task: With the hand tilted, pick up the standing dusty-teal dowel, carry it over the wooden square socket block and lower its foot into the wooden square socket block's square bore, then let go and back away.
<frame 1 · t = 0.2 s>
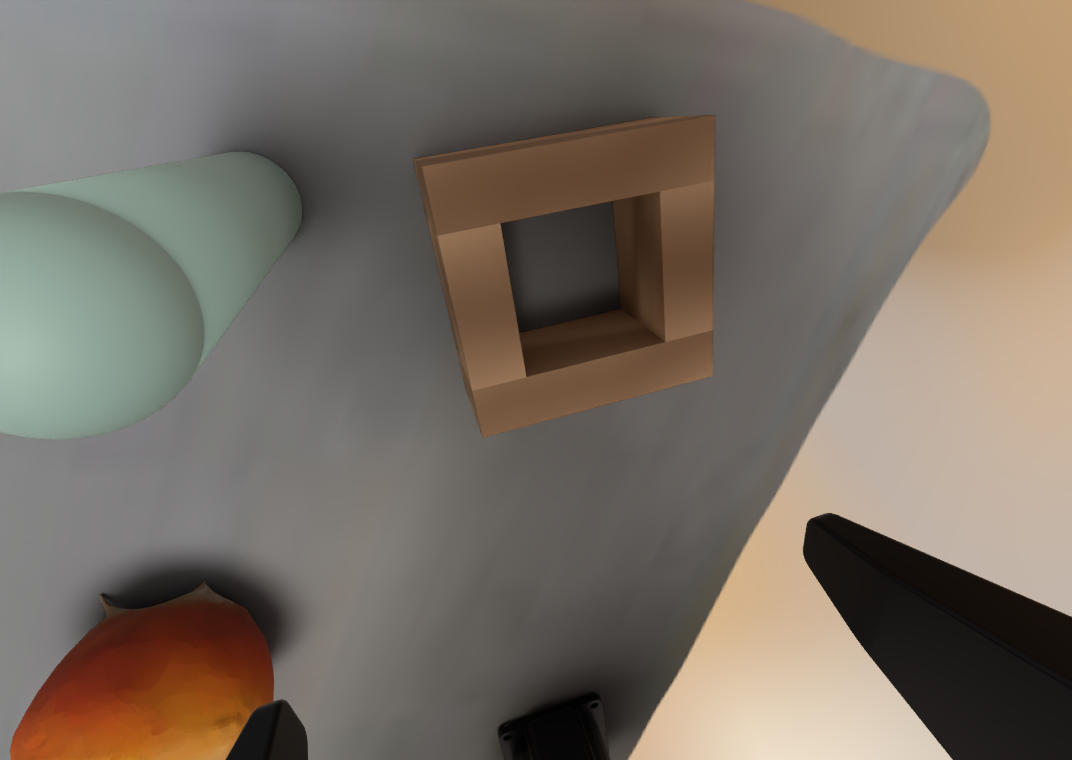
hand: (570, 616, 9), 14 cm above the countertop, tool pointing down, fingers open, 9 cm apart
dowel: (249, 204, 18), on the countertop
wooden square socket block: (554, 261, 21), on the countertop
fruit: (186, 632, 24), on the countertop
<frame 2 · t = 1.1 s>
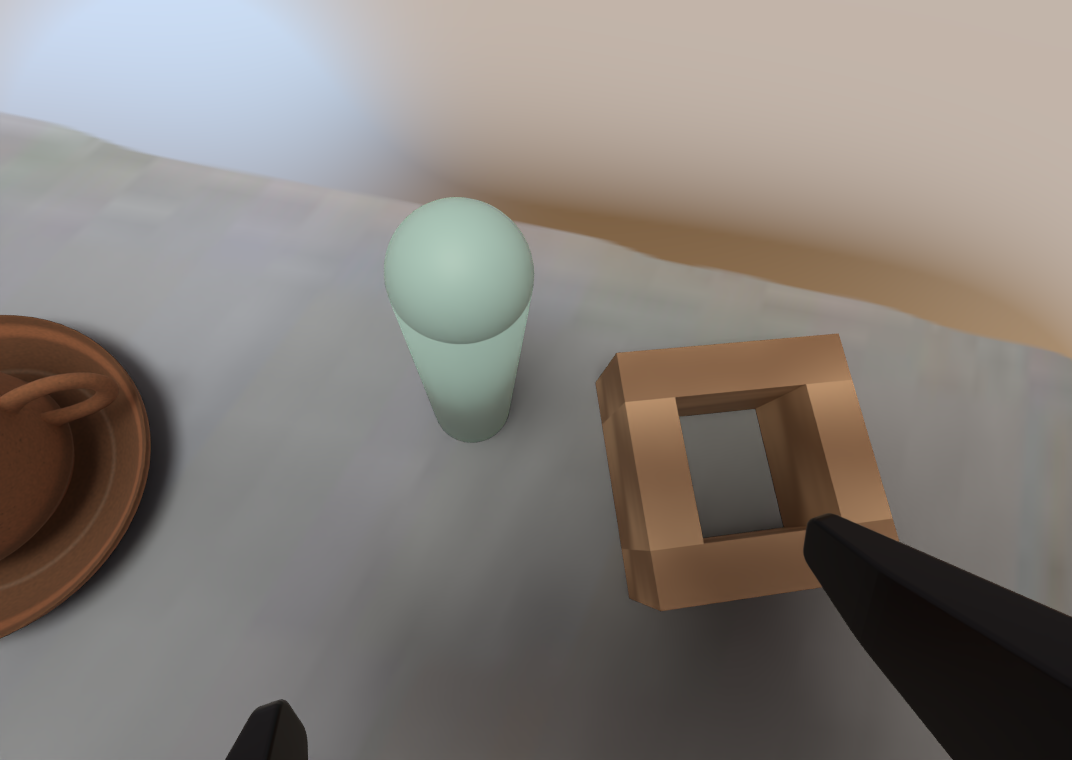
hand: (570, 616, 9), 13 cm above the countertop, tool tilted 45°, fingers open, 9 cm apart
dowel: (472, 405, 23), on the countertop
cup and saucer: (12, 478, 21), on the countertop
wooden square socket block: (712, 472, 23), on the countertop
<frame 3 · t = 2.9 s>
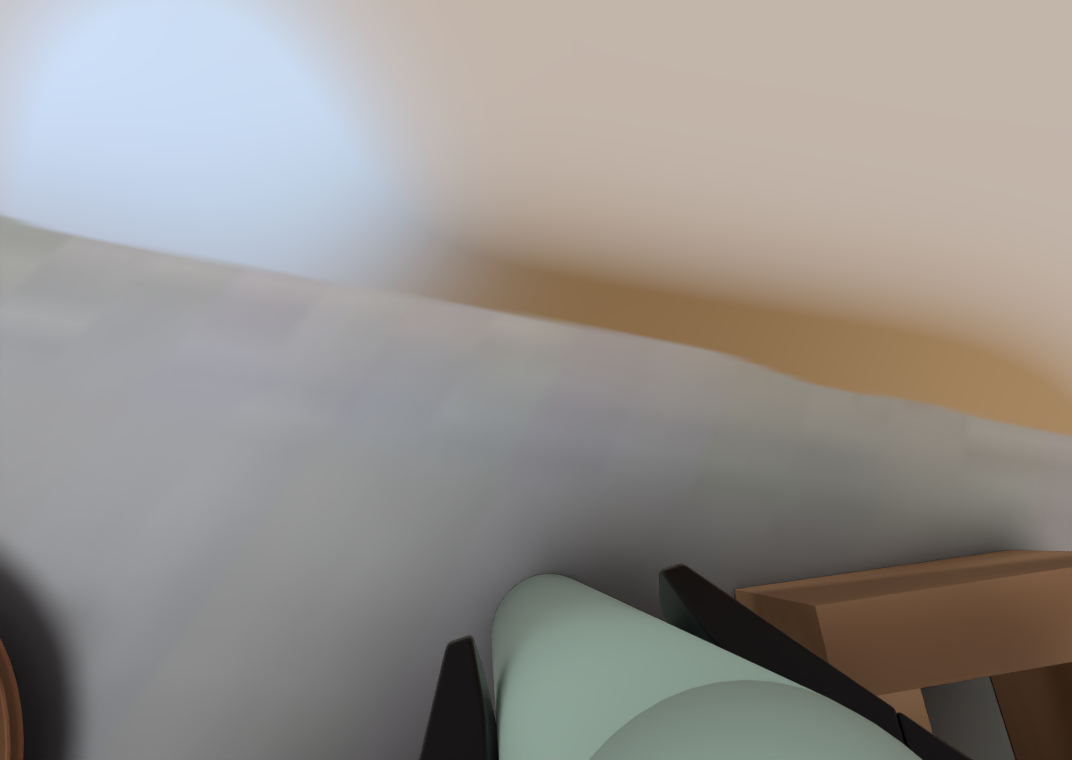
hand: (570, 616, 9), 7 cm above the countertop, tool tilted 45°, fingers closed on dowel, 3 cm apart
dowel: (549, 635, 15), on the countertop, touching gripper
wooden square socket block: (922, 739, 15), on the countertop
when the fingers open (9 cm above the countertop, at t = 5.7 s): dowel drops 3 cm, resting in wooden square socket block.
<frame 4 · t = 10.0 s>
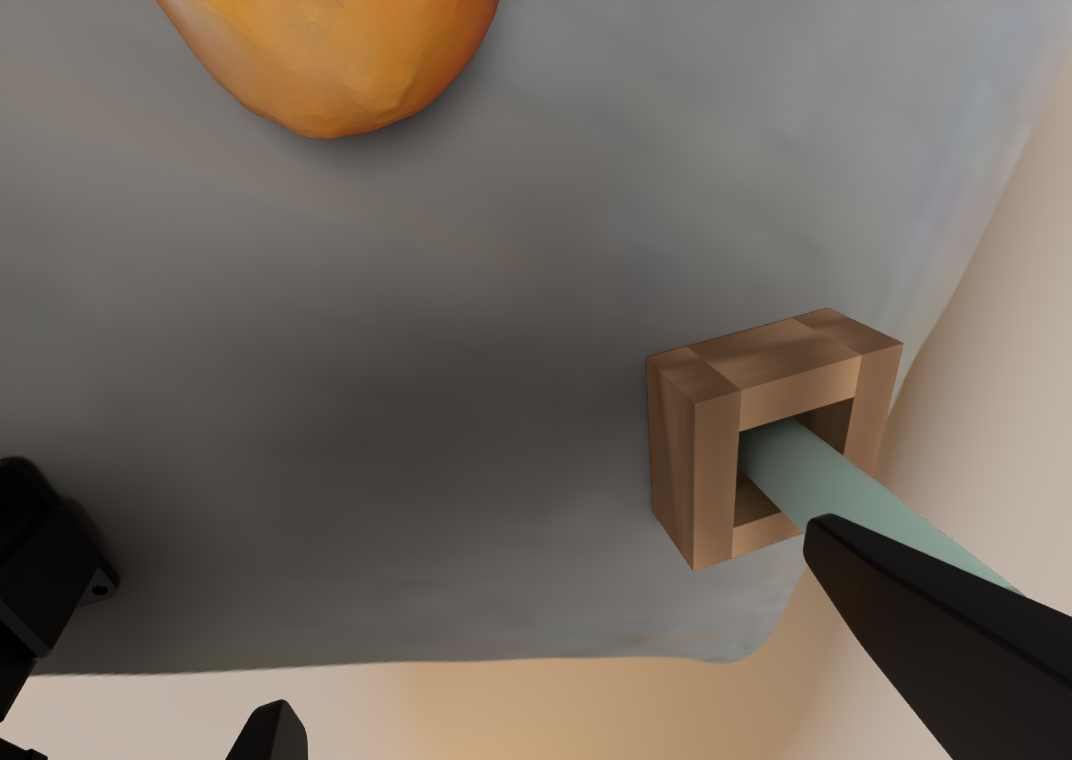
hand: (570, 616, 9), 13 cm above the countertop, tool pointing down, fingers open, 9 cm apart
dowel: (735, 416, 26), resting in wooden square socket block
wooden square socket block: (735, 416, 26), on the countertop
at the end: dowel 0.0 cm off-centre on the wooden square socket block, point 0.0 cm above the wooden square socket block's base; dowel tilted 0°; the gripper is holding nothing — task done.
